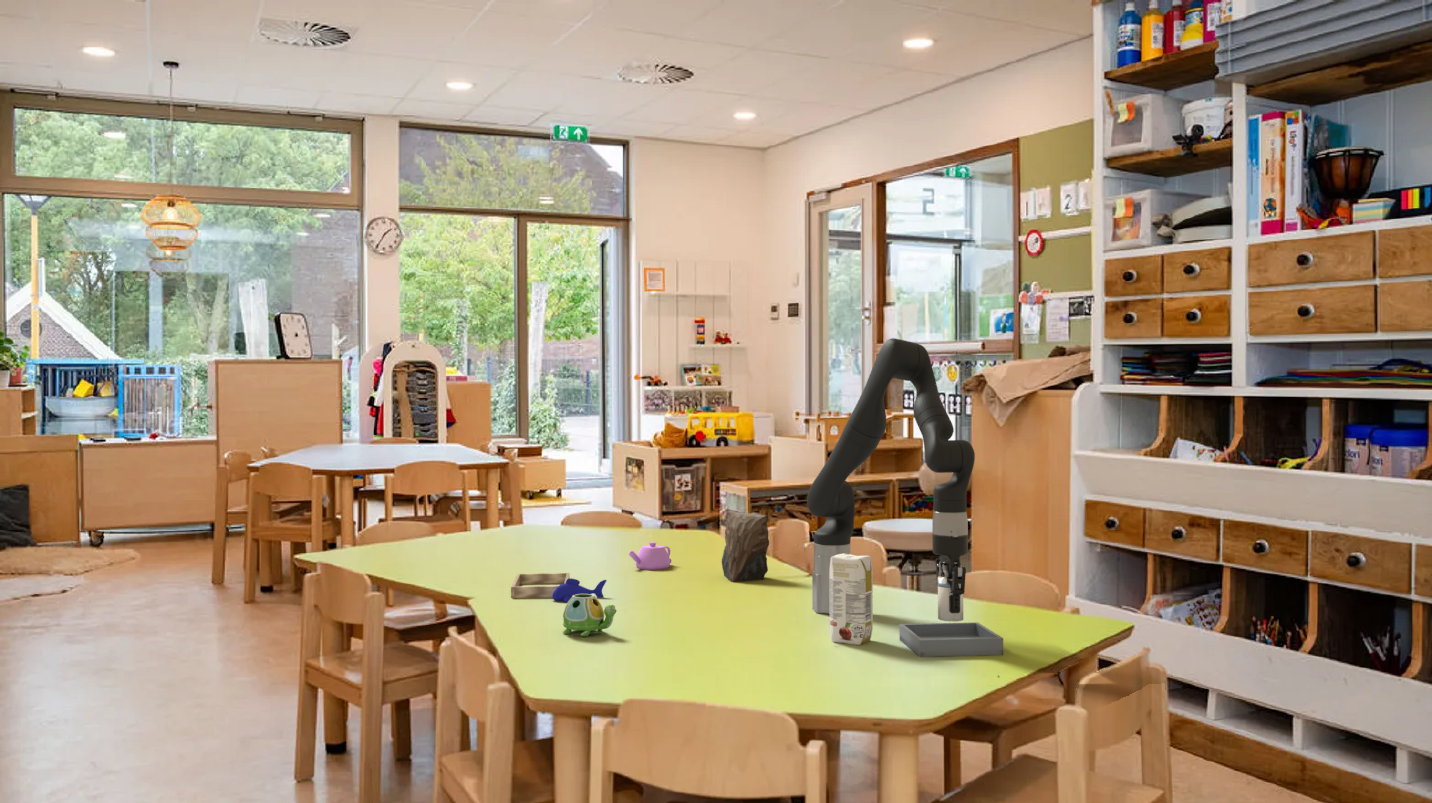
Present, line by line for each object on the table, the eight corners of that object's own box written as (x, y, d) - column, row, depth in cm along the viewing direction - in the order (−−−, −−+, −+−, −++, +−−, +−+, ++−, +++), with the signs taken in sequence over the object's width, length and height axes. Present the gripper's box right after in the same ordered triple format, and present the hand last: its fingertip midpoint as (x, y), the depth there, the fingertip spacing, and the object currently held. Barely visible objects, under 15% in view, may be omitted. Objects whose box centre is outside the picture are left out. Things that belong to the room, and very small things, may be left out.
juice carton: (861, 646, 239) (861, 559, 238) (826, 642, 243) (825, 556, 243) (875, 640, 245) (875, 555, 245) (840, 635, 250) (840, 552, 249)
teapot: (679, 572, 338) (679, 542, 338) (637, 577, 330) (637, 546, 330) (662, 568, 347) (662, 538, 347) (620, 572, 338) (620, 542, 338)
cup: (942, 621, 235) (942, 579, 235) (934, 616, 241) (934, 575, 241) (967, 621, 236) (966, 578, 236) (958, 616, 241) (958, 574, 241)
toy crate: (511, 602, 290) (511, 587, 290) (517, 588, 312) (517, 573, 312) (566, 601, 292) (566, 586, 292) (569, 587, 313) (569, 573, 313)
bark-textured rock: (720, 578, 328) (720, 511, 328) (761, 576, 330) (761, 510, 330) (730, 585, 315) (730, 515, 315) (772, 583, 318) (772, 514, 318)
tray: (919, 657, 229) (919, 640, 229) (899, 639, 245) (899, 624, 245) (1003, 654, 231) (1003, 638, 231) (977, 637, 247) (977, 622, 247)
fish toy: (556, 608, 283) (556, 582, 283) (548, 603, 290) (548, 577, 290) (611, 603, 290) (611, 577, 289) (601, 598, 296) (601, 573, 296)
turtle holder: (606, 639, 247) (606, 601, 247) (555, 634, 252) (555, 597, 252) (623, 631, 255) (623, 594, 255) (574, 627, 260) (574, 590, 260)
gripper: (923, 528, 245) (923, 604, 245) (943, 536, 230) (943, 617, 231) (956, 528, 245) (956, 603, 246) (978, 536, 231) (978, 616, 231)
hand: (950, 609), depth 238 cm, fingers closed on cup, 5 cm apart
